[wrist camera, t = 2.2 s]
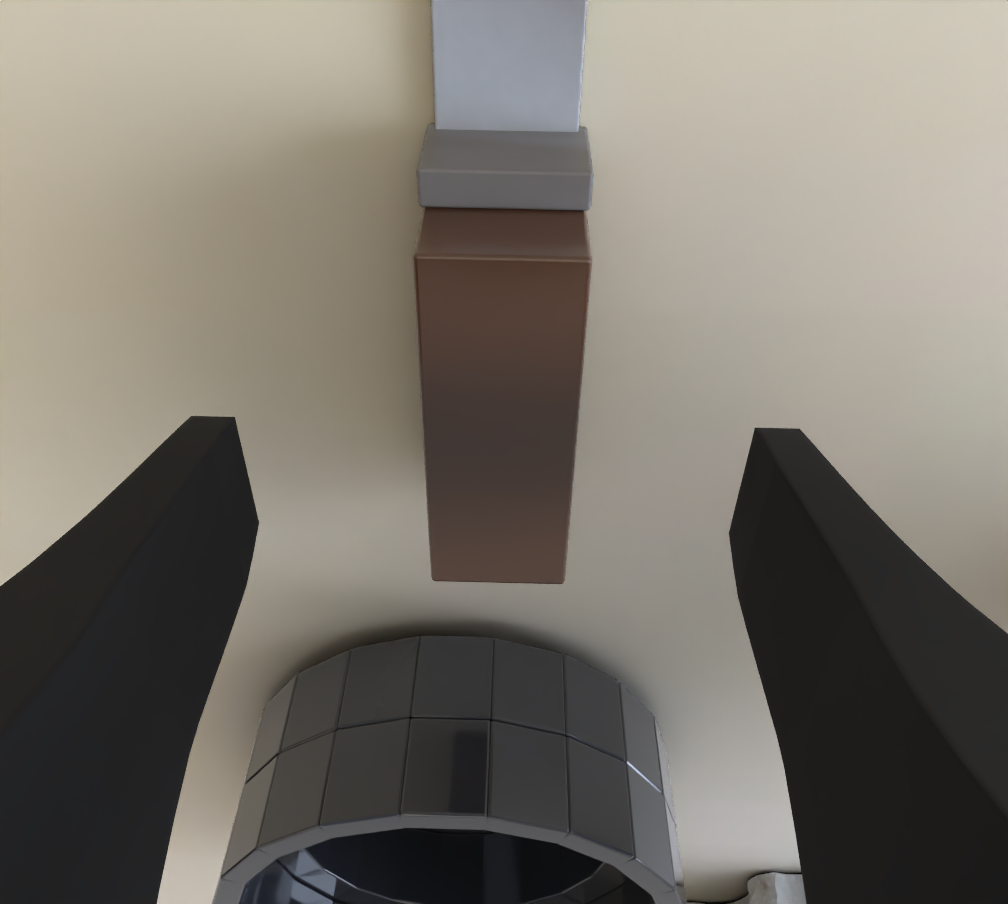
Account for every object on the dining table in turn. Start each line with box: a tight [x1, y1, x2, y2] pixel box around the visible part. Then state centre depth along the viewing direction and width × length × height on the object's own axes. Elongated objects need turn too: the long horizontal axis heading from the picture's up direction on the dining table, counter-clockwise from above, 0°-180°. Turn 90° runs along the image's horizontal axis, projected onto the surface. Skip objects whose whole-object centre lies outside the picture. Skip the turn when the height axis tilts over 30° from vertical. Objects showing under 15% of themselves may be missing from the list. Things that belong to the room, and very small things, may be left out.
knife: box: [413, 0, 593, 584], centre depth 12 cm, size 16×2×3 cm, turn 179°
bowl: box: [212, 635, 687, 904], centre depth 23 cm, size 11×11×5 cm
